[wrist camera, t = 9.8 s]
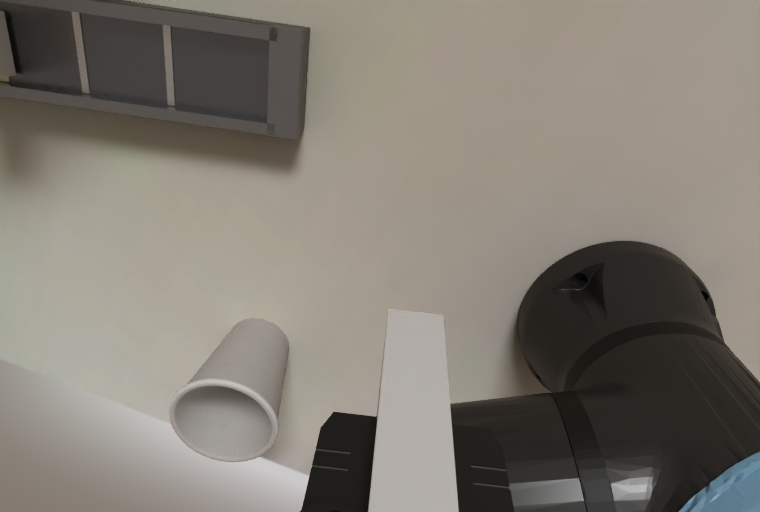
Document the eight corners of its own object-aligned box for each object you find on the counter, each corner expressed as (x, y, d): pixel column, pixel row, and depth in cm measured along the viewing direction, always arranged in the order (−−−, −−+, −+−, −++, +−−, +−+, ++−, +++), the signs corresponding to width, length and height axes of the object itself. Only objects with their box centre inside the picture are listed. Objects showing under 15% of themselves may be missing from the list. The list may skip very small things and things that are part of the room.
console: (304, 129, 38) (285, 151, 33) (-70, 75, 38) (-150, 88, 32) (310, 27, 35) (290, 33, 29) (-99, -32, 35) (-193, -37, 29)
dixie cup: (196, 340, 48) (146, 420, 39) (252, 289, 45) (212, 362, 36) (264, 392, 50) (231, 478, 41) (321, 347, 47) (300, 429, 38)
